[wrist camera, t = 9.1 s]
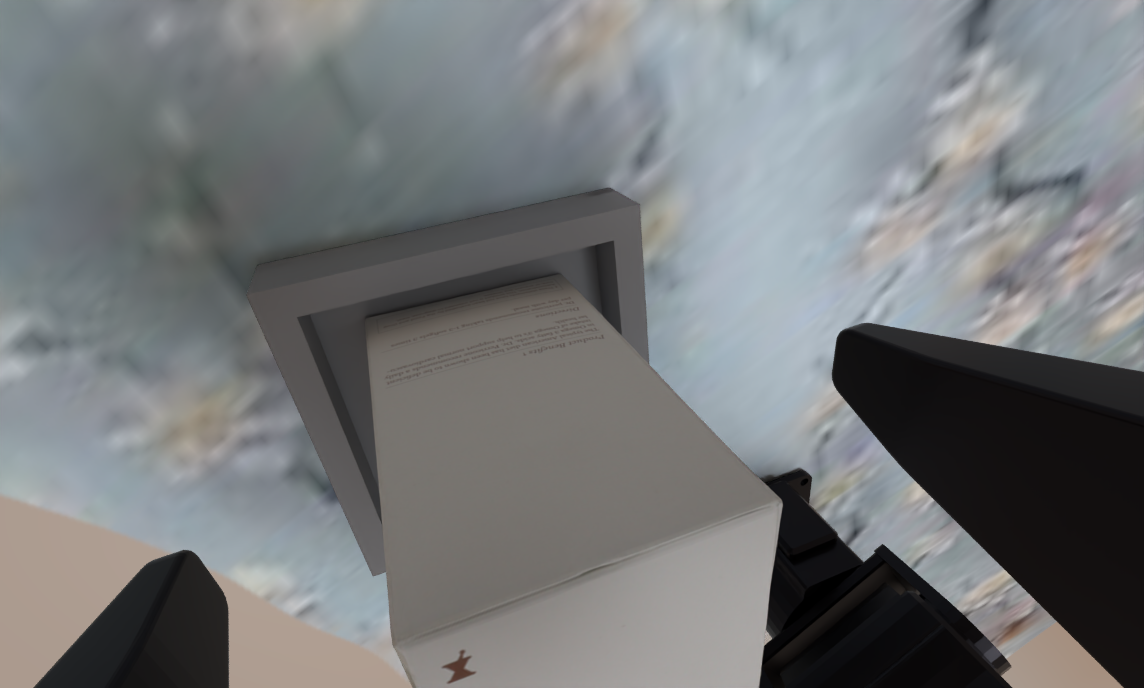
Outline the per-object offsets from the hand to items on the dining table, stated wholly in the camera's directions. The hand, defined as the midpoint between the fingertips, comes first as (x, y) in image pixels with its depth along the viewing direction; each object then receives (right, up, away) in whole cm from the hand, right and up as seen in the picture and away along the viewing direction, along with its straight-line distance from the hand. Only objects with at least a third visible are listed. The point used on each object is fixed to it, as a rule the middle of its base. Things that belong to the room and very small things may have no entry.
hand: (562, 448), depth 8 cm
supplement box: (-3, 0, +14) cm, 15 cm away
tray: (-3, 0, +15) cm, 15 cm away
